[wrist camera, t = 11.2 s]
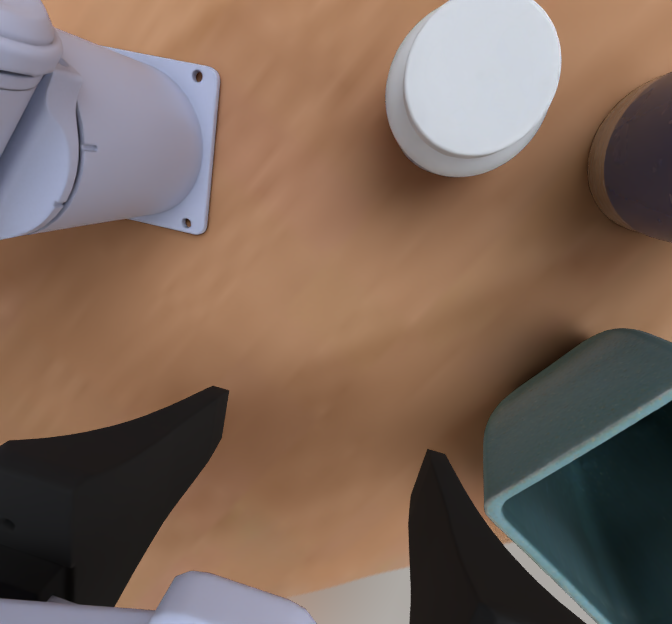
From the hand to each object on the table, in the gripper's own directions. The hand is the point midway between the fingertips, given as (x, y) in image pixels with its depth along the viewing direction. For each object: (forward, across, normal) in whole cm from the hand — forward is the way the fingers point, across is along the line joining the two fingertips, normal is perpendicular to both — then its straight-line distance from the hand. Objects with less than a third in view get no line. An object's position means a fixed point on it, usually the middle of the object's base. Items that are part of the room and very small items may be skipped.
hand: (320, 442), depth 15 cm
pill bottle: (+10, -2, -12) cm, 15 cm away
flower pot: (+10, -12, 0) cm, 15 cm away
